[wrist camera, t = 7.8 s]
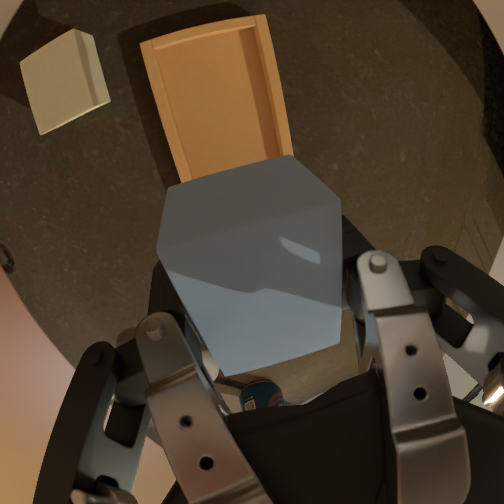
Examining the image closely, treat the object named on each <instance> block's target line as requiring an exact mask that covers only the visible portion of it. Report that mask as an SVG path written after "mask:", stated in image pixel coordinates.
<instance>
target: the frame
mask: <svg viewBox="0 0 504 504" xmlns="http://www.w3.org/2000/svg"><path fill="white" fill-rule="evenodd" d="M140 48H141V51H142V55H143V59H144V63H145V66H146V70H147V74H148V77H149V81H150V84H151V88H152V91H153V95H154V98H155V101H156V105H157V108H158V111H159V115H160V118H161V121H162V124H163V128H164V131H165V134H166V137H167V140H168V144H169V147H170V150H171V153H172V156H173V159H174V162H175V165H176V168H177V171H178V174H179V177H180V180H181V183H183V182H187V181H190V180H193V179H196V178H200V177H203V176H207V175H210V174H213V173H217V172H221V171H224V170H228V169H231V168H235V167H239V166H243V165H247V164H251V163H255V162H259V161H263V160H267V159H271V158H275V157H280V156H284V155H289V154H290V155H292V156H293V149H292V143H291V137H290V131H289V125H288V120H287V114H286V109H285V103H284V98H283V93H282V88H281V83H280V78H279V73H278V68H277V63H276V59H275V54H274V50H273V45H272V41H271V36H270V32H269V28H268V24H267V20H266V16H265V14H262V15H255V16H246V17H240V18H233V19H228V20H222V21H217V22H212V23H208V24H203V25H199V26H195V27H191V28H187V29H183V30H179V31H176V32H172V33H169V34H166V35H163V36H159V37H156V38H153V39H151V40H148V41H145V42H142V43H140ZM293 157H294V156H293Z"/></svg>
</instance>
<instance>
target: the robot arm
mask: <svg viewBox="0 0 504 504" xmlns="http://www.w3.org/2000/svg"><path fill="white" fill-rule="evenodd" d="M448 297H449V298H450V299H451V300H453V301H454V302H455V303H457V304H458V305H459V306H460V307H462V308H463V309H464V310H466V311H467V312H468V313H469V314H471V316H472V318H473V321H474V324H471V323H470V322H468V321H467V320H466V319H465V318H464V317H462V316H461V315H460V314H459V313H457V312H456V311H455V310H453V309H452V308H451V307H450V306H448V305H447V304H446V301H447V298H448ZM348 308H350V309H351V310H352V312H353V328H354V335H355V343H356V351H357V359H358V376H355V377H353V378H350V379H348V380H345V381H342V382H340V383H339V384H337V385H336V386H334V387H332V388H331V389H329V390H328V391H326V392H325V393H323V394H322V395H320V396H318V397H317V398H315V399H314V400H312V401H310V402H309V403H307V404H304V405H293V406H274V407H260V408H256V409H252V410H247V411H243V412H239V413H234V414H232V412H231V411H230V410H229V408H228V406H227V405H226V403H225V401H224V400H223V398H222V396H221V394H220V393H219V391H218V389H217V387H216V385H215V384H214V382H213V380H212V378H211V376H210V374H209V372H208V371H207V369H206V367H205V365H204V364H203V359H202V351H205V350H208V348H207V346H206V344H205V343H204V341H203V339H202V338H201V336H200V334H199V332H198V331H197V329H196V327H195V325H194V323H193V322H192V320H191V318H190V316H189V314H188V313H187V311H186V309H185V307H184V305H183V303H182V302H181V300H180V298H179V296H178V294H177V292H176V290H175V288H174V286H173V284H172V282H171V280H170V279H169V277H168V275H167V273H166V271H165V269H164V267H163V265H162V262H161V260H159V261H158V263H157V264H156V266H155V268H154V269H153V274H152V282H151V290H150V298H149V307H148V316H147V317H145V318H144V319H143V320H142V321H141V322H140V323H139V324H138V326H137V328H136V331H135V338H134V339H132V340H130V341H129V342H127V343H125V344H123V345H121V346H119V347H117V348H114V347H113V346H112V345H111V344H110V343H108V342H105V341H101V342H97V343H94V344H93V345H91V346H90V347H89V348H87V350H86V351H85V352H84V354H83V355H82V357H81V359H80V362H79V364H78V366H77V369H76V371H75V373H74V375H73V378H72V380H71V383H70V385H69V387H68V390H67V392H66V395H65V397H64V400H63V403H62V405H61V408H60V411H59V413H58V416H57V419H56V422H55V425H54V427H53V431H52V434H51V436H50V440H49V442H48V446H47V449H46V452H45V456H44V459H43V463H42V466H41V470H40V474H39V477H38V481H37V486H36V490H35V495H34V499H33V504H138V502H137V500H136V499H135V497H134V496H133V495H132V494H133V489H134V485H135V480H136V476H137V471H138V467H139V462H140V458H141V453H142V449H143V446H144V442H145V438H146V434H147V430H148V426H149V422H150V418H152V421H153V423H154V426H155V429H156V432H157V434H158V437H159V439H160V442H161V445H162V447H163V449H164V452H165V454H166V457H167V459H168V461H169V464H170V466H171V468H172V470H173V473H174V475H175V477H176V479H177V480H176V481H175V483H174V485H173V486H172V488H171V489H170V491H169V492H168V494H167V496H166V497H165V499H164V500H163V502H162V503H161V504H504V286H503V285H501V284H500V283H499V282H497V281H496V280H495V279H493V278H492V277H490V276H489V275H487V274H486V273H485V272H483V271H482V270H480V269H479V268H477V267H476V266H474V265H473V264H471V263H470V262H468V261H467V260H465V259H464V258H462V257H461V256H459V255H457V254H456V253H454V252H453V251H451V250H449V249H448V248H445V247H442V246H429V247H427V248H425V249H424V250H423V251H422V254H421V258H420V260H412V261H398V259H397V258H396V257H395V256H394V255H393V254H391V253H389V252H387V251H383V250H375V248H374V247H373V246H372V245H371V244H370V243H369V242H368V241H367V239H366V238H365V237H364V236H363V235H362V234H361V233H360V232H359V231H358V230H357V228H356V227H355V226H354V225H353V224H351V222H350V221H349V220H348V219H347V218H346V217H345V216H344V215H342V307H341V311H342V310H345V309H348ZM440 349H442V350H443V351H444V352H445V353H446V354H447V355H449V356H450V357H451V358H452V359H453V360H454V361H456V363H457V364H458V365H460V366H461V367H462V368H463V369H464V370H465V371H466V372H467V373H468V374H470V375H471V376H472V377H473V378H474V379H475V380H476V381H477V382H478V383H479V384H480V385H481V386H482V387H483V392H484V394H483V396H482V402H483V404H484V405H486V406H491V408H492V410H493V412H491V411H488V410H486V409H483V408H481V407H478V406H476V405H473V404H471V403H469V402H466V401H464V400H461V399H459V398H456V397H454V396H452V393H451V389H450V384H449V380H448V376H447V373H446V369H445V365H444V361H443V358H442V354H441V351H440ZM112 399H113V400H114V403H113V406H112V409H111V412H110V415H109V419H108V422H107V425H106V428H105V432H104V430H103V424H104V421H105V418H106V415H107V411H108V409H109V406H110V403H111V400H112Z"/></svg>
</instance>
